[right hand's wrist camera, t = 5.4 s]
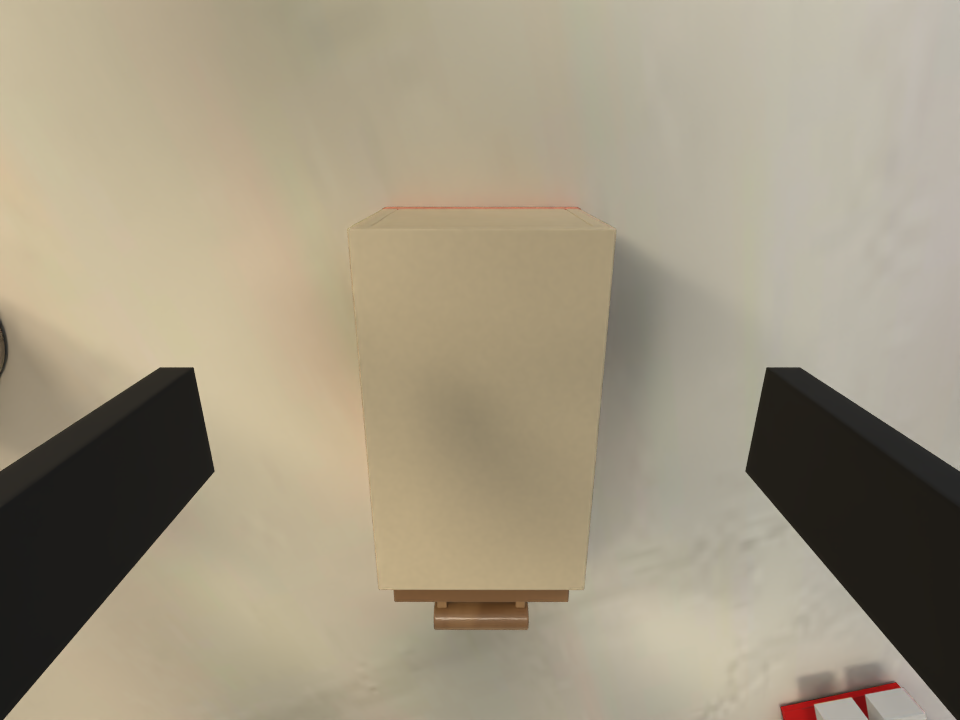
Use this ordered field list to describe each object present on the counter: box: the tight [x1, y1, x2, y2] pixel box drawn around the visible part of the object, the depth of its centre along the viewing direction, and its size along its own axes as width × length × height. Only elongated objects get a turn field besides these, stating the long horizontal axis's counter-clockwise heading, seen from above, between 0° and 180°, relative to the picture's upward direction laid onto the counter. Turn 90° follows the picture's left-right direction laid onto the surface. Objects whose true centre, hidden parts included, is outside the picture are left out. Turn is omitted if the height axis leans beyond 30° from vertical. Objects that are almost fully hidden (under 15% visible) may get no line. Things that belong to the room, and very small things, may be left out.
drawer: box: [394, 590, 569, 630], centre depth 30 cm, size 23×10×7 cm, turn 0°
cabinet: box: [347, 207, 616, 590], centre depth 29 cm, size 18×11×9 cm, turn 0°
